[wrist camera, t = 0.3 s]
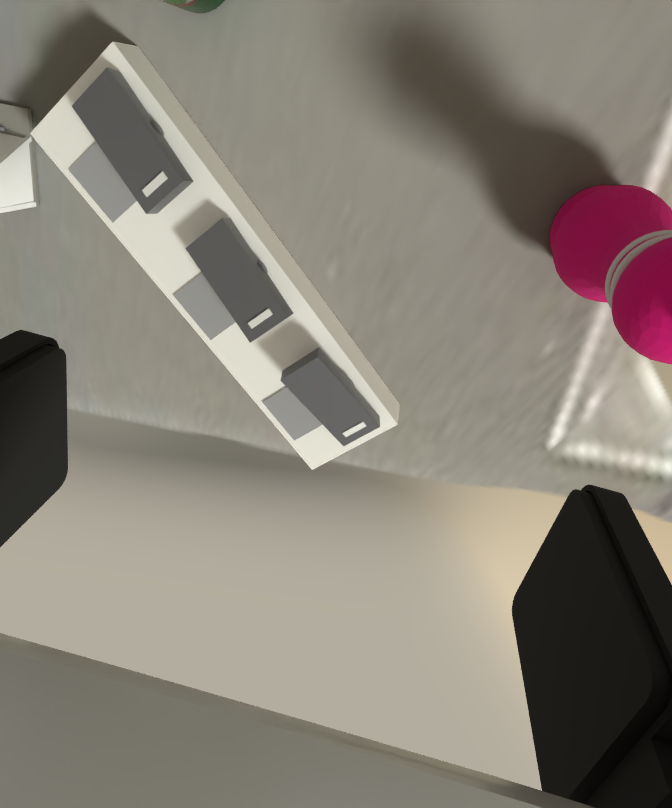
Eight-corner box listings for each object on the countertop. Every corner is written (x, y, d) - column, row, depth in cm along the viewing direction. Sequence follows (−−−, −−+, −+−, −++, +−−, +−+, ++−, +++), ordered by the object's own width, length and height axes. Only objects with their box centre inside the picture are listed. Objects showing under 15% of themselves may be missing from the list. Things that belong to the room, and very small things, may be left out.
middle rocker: (197, 246, 41) (184, 248, 39) (233, 217, 39) (221, 218, 38) (259, 337, 42) (249, 343, 40) (296, 312, 41) (287, 317, 39)
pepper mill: (668, 187, 37) (875, 260, 20) (625, 289, 41) (769, 426, 24) (561, 168, 38) (673, 225, 21) (528, 271, 41) (600, 393, 24)
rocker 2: (283, 366, 43) (280, 381, 41) (319, 343, 42) (317, 357, 40) (344, 431, 47) (343, 447, 45) (379, 412, 45) (380, 427, 44)
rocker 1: (90, 110, 37) (70, 105, 36) (125, 73, 36) (106, 66, 34) (161, 213, 39) (145, 214, 37) (197, 181, 37) (182, 180, 35)
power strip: (59, 131, 42) (28, 133, 38) (137, 46, 38) (111, 41, 35) (318, 448, 52) (311, 470, 49) (399, 404, 48) (397, 425, 45)
